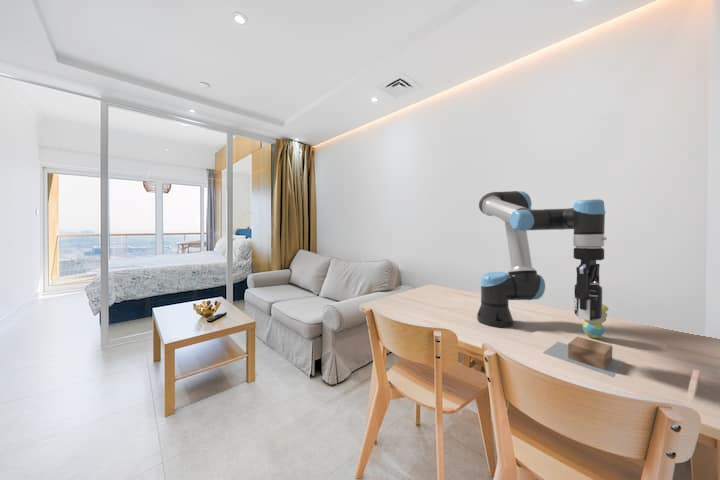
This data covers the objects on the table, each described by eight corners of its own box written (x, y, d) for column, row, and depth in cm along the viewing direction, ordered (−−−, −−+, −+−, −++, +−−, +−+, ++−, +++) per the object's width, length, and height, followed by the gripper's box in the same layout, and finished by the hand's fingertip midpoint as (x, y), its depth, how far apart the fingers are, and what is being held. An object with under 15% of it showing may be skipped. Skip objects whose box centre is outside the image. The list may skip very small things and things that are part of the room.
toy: (613, 342, 98) (614, 304, 98) (586, 341, 100) (587, 303, 99) (599, 334, 106) (599, 298, 105) (574, 332, 108) (574, 297, 107)
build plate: (542, 356, 90) (542, 352, 90) (558, 344, 98) (558, 341, 98) (613, 380, 75) (613, 376, 75) (624, 365, 83) (624, 361, 83)
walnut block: (568, 358, 86) (568, 343, 86) (577, 350, 91) (577, 336, 91) (604, 370, 79) (604, 354, 78) (612, 360, 84) (612, 345, 83)
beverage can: (583, 313, 89) (583, 279, 88) (607, 319, 82) (607, 283, 82) (569, 316, 87) (569, 281, 86) (593, 322, 80) (593, 284, 80)
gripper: (593, 249, 75) (593, 327, 76) (612, 246, 86) (612, 313, 87) (562, 248, 81) (562, 320, 82) (584, 245, 92) (583, 308, 93)
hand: (588, 316), depth 84 cm, fingers closed on beverage can, 7 cm apart
